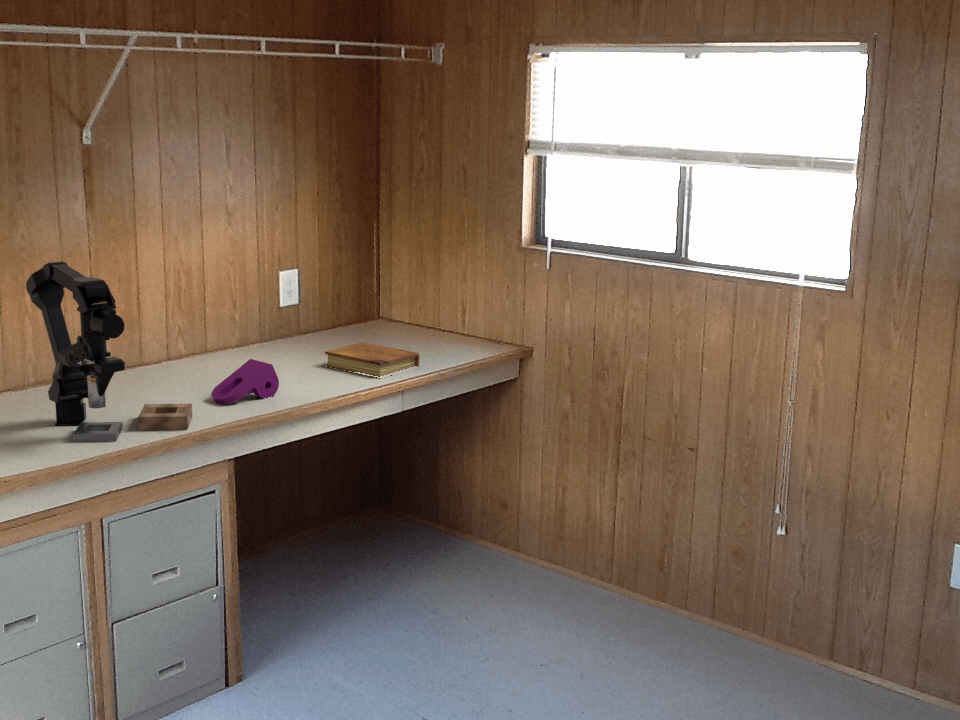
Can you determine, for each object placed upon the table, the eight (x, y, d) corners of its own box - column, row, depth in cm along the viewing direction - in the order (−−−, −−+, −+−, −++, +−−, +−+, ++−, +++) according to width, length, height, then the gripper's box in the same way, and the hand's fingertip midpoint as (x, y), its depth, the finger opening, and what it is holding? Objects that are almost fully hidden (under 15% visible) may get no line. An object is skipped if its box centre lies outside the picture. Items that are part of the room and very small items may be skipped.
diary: (419, 370, 358) (419, 352, 357) (380, 381, 343) (380, 362, 342) (364, 358, 371) (364, 341, 370) (324, 368, 356) (324, 350, 355)
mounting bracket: (237, 426, 312) (282, 388, 322) (226, 402, 307) (272, 364, 318) (216, 419, 318) (260, 382, 328) (204, 395, 313) (250, 358, 324)
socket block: (138, 430, 285) (138, 416, 285) (145, 417, 297) (144, 404, 296) (187, 429, 287) (187, 416, 286) (192, 416, 299) (191, 403, 298)
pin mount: (73, 441, 275) (73, 434, 274) (81, 429, 284) (81, 422, 284) (116, 441, 276) (115, 433, 276) (122, 429, 286) (122, 421, 285)
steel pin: (87, 408, 276) (85, 376, 274) (90, 404, 280) (88, 372, 278) (104, 408, 277) (102, 376, 275) (107, 403, 281) (105, 372, 279)
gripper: (43, 329, 275) (47, 392, 278) (81, 342, 262) (84, 407, 266) (86, 324, 283) (89, 384, 286) (124, 336, 270) (127, 399, 274)
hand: (96, 394), depth 278 cm, fingers closed on steel pin, 4 cm apart
